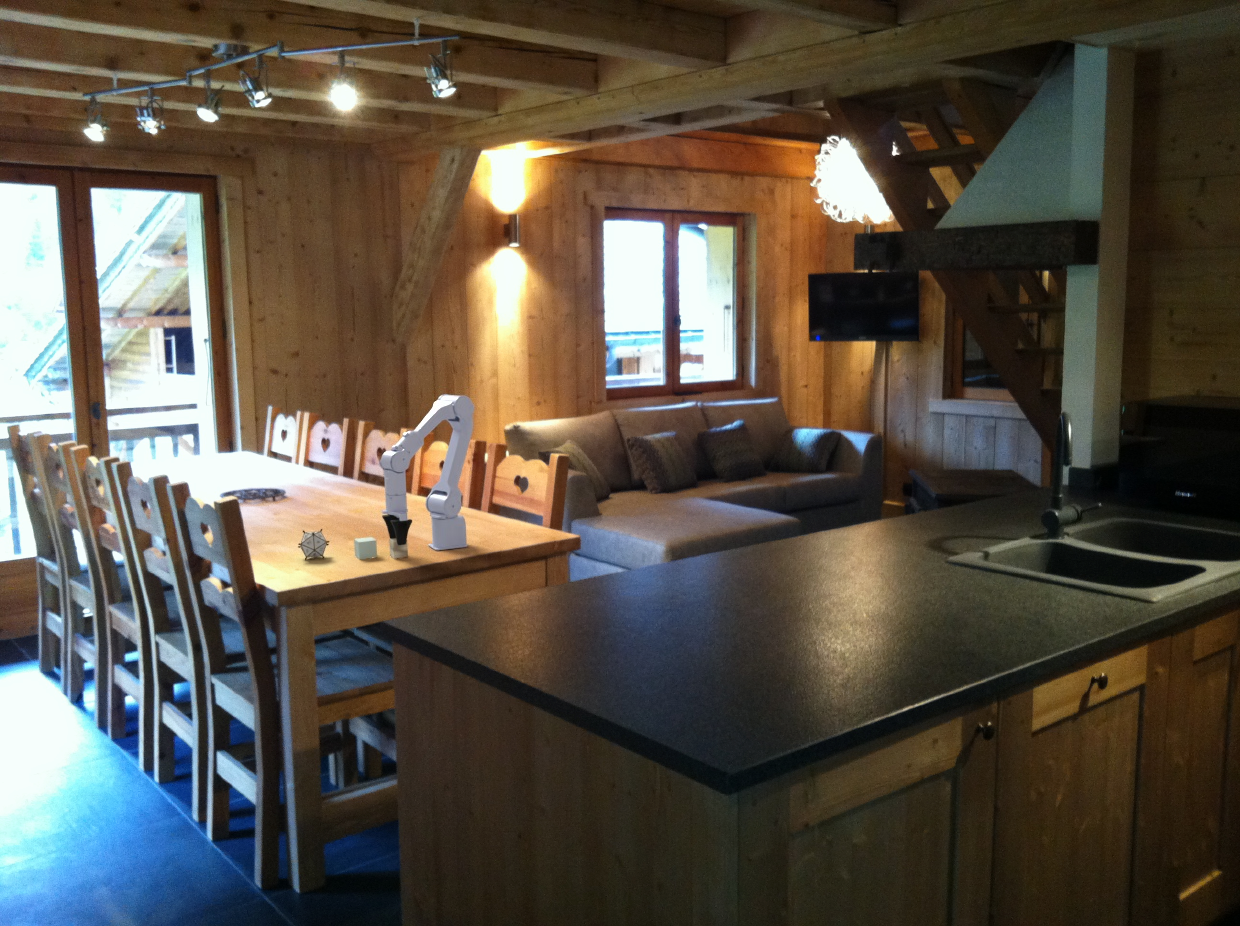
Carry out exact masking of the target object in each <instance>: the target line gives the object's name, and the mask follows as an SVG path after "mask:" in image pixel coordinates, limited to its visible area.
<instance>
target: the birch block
mask: <svg viewBox="0 0 1240 926" xmlns="http://www.w3.org/2000/svg"><path fill="white" fill-rule="evenodd" d="M388 541H389V543H388V545H389V557H390V556H391V557H390V558H391V559H393V560H398V559H397V558H400V559H404V558H403V557H408V558H409V548H408V540H407V541H406V544H405V545H398V544H397V540H396V538H394V539H390V538H389V540H388Z"/></svg>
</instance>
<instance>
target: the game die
mask: <svg viewBox="0 0 1240 926" xmlns="http://www.w3.org/2000/svg"><path fill="white" fill-rule="evenodd" d="M322 532H323V528H321V529H320V531H319V530H317V531H316V530H315V531H305V530H304V529H303V530H302V533H303V536H302V539H301V542H299V543H298V544H297V545H298V546H297V548H298V549H301V551H302V552H303V554H304V556H305V557H304V561H306V560H307V559H308V558H309V559H310V558H317V557H319V558H320V557H322V559H324V558H325V556H324V554H325V551H326V548H327V546H329V543H330V540H327V539H326V538H325V536H324V534H323V533H322Z"/></svg>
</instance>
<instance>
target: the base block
mask: <svg viewBox="0 0 1240 926" xmlns="http://www.w3.org/2000/svg"><path fill="white" fill-rule="evenodd" d="M353 540H354V541H353V543H354V545H353V546H354V557H355V556H356V557H355V558H357V559H358V560H359V559H361V560H367V559H366V558H370V559H373V558H372V557H377V558H378V550H377V549H378V546H377V539H375V538H374V537H372V536H371V537H361V538H353Z"/></svg>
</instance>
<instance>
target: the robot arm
mask: <svg viewBox="0 0 1240 926" xmlns="http://www.w3.org/2000/svg"><path fill="white" fill-rule="evenodd" d="M475 408H476V407H475V405H474V403H473V401H472V399H471V398H470V397H469V396H468V395H456V394H455V395H453V394H447V393H445V394H441V395H440V396H439V397H438V399H437V400H436V401H434V402H433V405H432V408H431V409H430V410H429V411H428V413H426V415H425V416H424V418H423V419H422V421H421V422H420V423H419V424H418V425H417V426H416V427H415V429H413V430H407V432H406V431H404V432H403V433H402V437H401V438H400V439H399V440H398V441H397V442H396V443H395V444H393V445H392V446H391V450H390V449H389V450H386V451H385V452H384V453H383V454H382V455H381V456H380V457H381V458H380V460H378V464H379V467H380V468H381V469H382V472H383V476H384V495H385V499H384V500H385V509H383V510H381V514H383V515H382V516H381V517H382V520H383V521H384V523H385V526H386V528H387V529H386V530H387V533H388V536H389V537H388V538H389V539H394V538H396V540H397V544H398V545H405V544H406V541H407V542H408V534H409V530H410V527H411V525H412V523H413V519H411V518H408V512H409V509H408V502H407V501H408V500H407V499H408V498H407V482H406V481H407V479H406V478H407V477H406V475H407V474H406V470H408V469H409V467H410V464H411V460H412V458H413V457H414V456H415V455H416V454H417V452H418V451H420V450H421V448H422V447H423V446H424V445H425V444H424V443H425V442H424V441H425V440H424V438H426V437H427V436H428V435H429V434H430V433H431V432H432V431H433V430H434V429H435V428H436V427H438V426H439V424H441V422H443V421H447V422H448V423H449V424H450V427H451V428H452V433H451V436H450V441H449V444H448V446H447V447H448V448H447V451H446V455H445V459H444V462H443V466H442V469H441V473H440V477H439V481H438V482H437V483H435V484H434V485H433V486H432V488H431V490H430V493H429V494H428V495H427V497H426V499H425V508H426V510H427V511H428V512H429V514H430V515H429V516H430V517H431V535H432V536H431V537H432V543H428V547H430V548H432V549H433V550H434V551H445V550H451V549H458V548H467V547H468V542H467V540H468V539H467V523H466V519H465V517H464V515H461V514H459V513H460V512H461V510H462V496H463V493H462V490H461V489H460V488H459V483H460V479H461V476H462V472H463V468H464V464H465V460H466V458H467V454H468V453H467V452H468V450H469V446H470V442H471V439H472V435H473V431H474V412H475Z"/></svg>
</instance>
